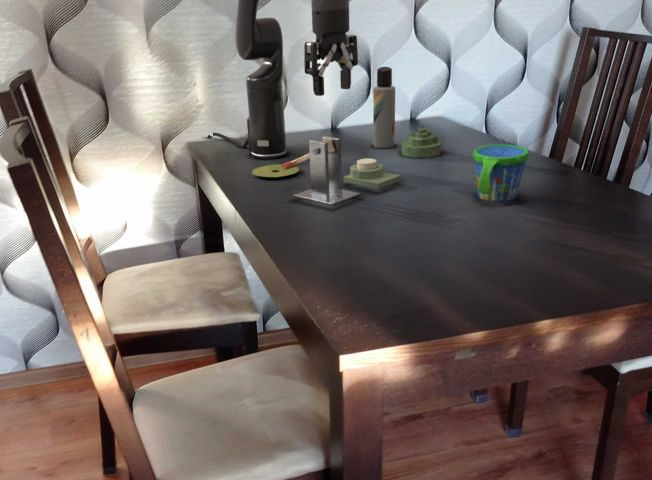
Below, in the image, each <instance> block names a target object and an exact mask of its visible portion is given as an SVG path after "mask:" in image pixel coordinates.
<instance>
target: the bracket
mask: <svg viewBox="0 0 652 480" xmlns="http://www.w3.org/2000/svg"><path fill="white" fill-rule="evenodd" d="M328 140H332V143H333V146H334V149H335V151H334V152H332V153H330V154H328V142H325V141H328ZM308 149H309V152H308V153H310V159H309V170H310V171H309V172H310V173H309V174H310V189H307V190H304V191H301V192H299V193H296V194H294V195H293V197H294V198H298V199H302V200H304V201H305V200H306V201H310V202H313V203H318V204H324V205H327V206H331V207H332V206H335V205H338V204H341V203H343V202H346V201H348V200H351V199H354V198H356V197H359V196H361V193H360V192H356V191H352V190H347V189H343V169H342V167H343V165H342V164H343V163H342V138H339V137H333V136H327V135H324V136H322V137H321V140H315V139H310V140H308Z"/></svg>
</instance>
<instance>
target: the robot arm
mask: <svg viewBox="0 0 652 480" xmlns="http://www.w3.org/2000/svg"><path fill="white" fill-rule="evenodd" d="M260 1H261V0H237V10H236V11H237V12H236V22H235V47H236V51H237V53H238V56H239V57H240V59H242V60H243V61H257V60H262V63H261V64H260V66H259V67H258V68H257V69H256V70H255V71H253V72H252V73H250V74H248V75H247V76H246V78H245V87H246V96H247V97H246V99H247V105H248V107H247V108H248V109H247V110H248V117H247V118H246V127H247V135H246V136H247V138H246V139H245V140H244V143H242V142H240V141H238V140H236V139H234V138H233V137H230V136H227V135H224V134H222V133H219V132H215V131H214V132H215V133H214V132H212V133H213V136H210V135H209V134H208V135H207V137H206V139H209V140H210V139H211V138H213V137H219V138H221V139H223V140H225V141H229V142H231V143H232V144H235V145H237V146H238V147H239V148H242V149H244V148H247V146H248V149H249V155H250V156H251V157H253V158H255V159H261V160H263V159H264V160H267V159H269V160H270V159H276V158H277V159H278V158H282V157H284V156H286V155H287V154H288V149H287V140H286V137H287V136H286V124H285V123H286V122H285V107H284V106H285V105H284V104H285V103H284V91H283V78H284V40H283V32H282V27H281V24H280V23H279V21H278V20H277V19H276V18H274V17H260V18H257V15H258V9H259V3H260ZM310 2H311V27H312V29H311V30H312V33H313V34H314V35H315V41H305V42H304V45H303V46H304V48H303V50H304V51H303V53H304V55H303V56H304V57H303V59H304V66H303V67H304V69H303V70H304V74H306V75H309V76H311V77H312V91H313V94H314V96H315V97H322V96H324V95H325V76H324V73H325V72H326V71H325V70H326V69H327V68H328V67H329V65H330V63H334V62H335V63H337V65H338V67H339V68H340V71H339V75H340V77H339V80H340V89H342V90H350V89H351V86H352V70H353V69H354V67H356V66H358V65H359V56H358V36H357V35H354V34H347V33H348V32H349V31H350V0H310ZM351 55H352V56H351Z"/></svg>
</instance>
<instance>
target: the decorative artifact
mask: <svg viewBox="0 0 652 480" xmlns="http://www.w3.org/2000/svg"><path fill="white" fill-rule="evenodd" d="M441 154H442V141H440V140H439V135H438V134H436V133H434V134H432V130H429V129H428V128H424V125H423V124H421V125H420V127H419V128H417V131H415V130H413V131H412V132H411V133H409V134H408V138H407V140H404V141H402V142H401V155H402V156H404V157H408V158H413V159H427V158H434V157H438V156H440V155H441Z"/></svg>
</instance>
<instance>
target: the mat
mask: <svg viewBox="0 0 652 480" xmlns="http://www.w3.org/2000/svg"><path fill="white" fill-rule="evenodd" d="M282 164H283V163H282ZM282 164H279V163H278V164H269V165H264V166H260V167H256V168H254V169H253V170H252V171H251V174H252V175H253V176H257V177H263V178H280V177H286V176H290V175H294V174H296V173H298V172H299V171H300V168H299V166H296V167H293V168H290V169H287V170H284V169H283V168H282Z"/></svg>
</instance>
